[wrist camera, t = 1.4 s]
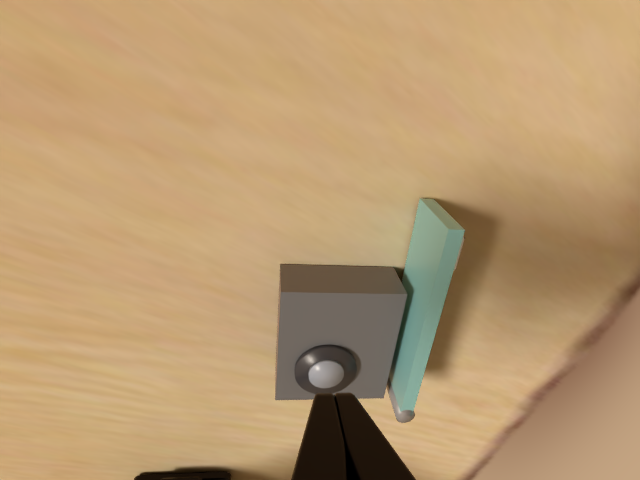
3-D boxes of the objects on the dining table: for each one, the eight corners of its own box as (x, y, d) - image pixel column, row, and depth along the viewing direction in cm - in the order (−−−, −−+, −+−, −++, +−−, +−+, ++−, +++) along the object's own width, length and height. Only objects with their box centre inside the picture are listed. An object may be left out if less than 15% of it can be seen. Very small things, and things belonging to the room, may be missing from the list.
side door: (400, 372, 24) (419, 422, 20) (379, 372, 23) (394, 422, 20) (443, 199, 18) (476, 230, 15) (416, 198, 18) (445, 229, 15)
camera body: (374, 364, 23) (386, 405, 21) (275, 365, 22) (275, 407, 20) (393, 267, 20) (411, 300, 17) (280, 264, 19) (280, 298, 17)
